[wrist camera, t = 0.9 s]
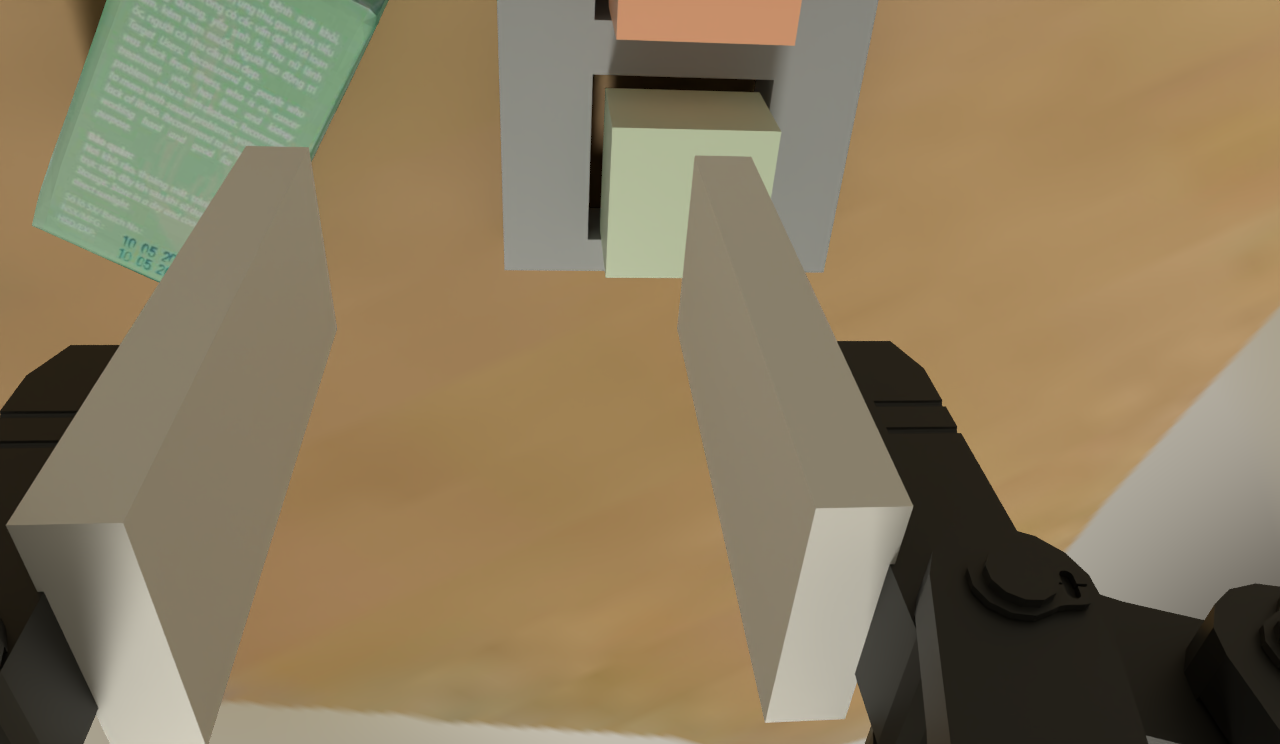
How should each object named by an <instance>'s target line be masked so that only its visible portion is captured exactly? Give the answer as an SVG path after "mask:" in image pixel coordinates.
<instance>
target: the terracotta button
mask: <svg viewBox="0 0 1280 744" xmlns="http://www.w3.org/2000/svg"><path fill="white" fill-rule="evenodd" d="M801 3H802V0H609V10H610V14H611V19H612V23H613V27H614V31H615V36H616V40H644V41H673V42H701V43H730V44H759V45H788V46H795V41H796V35H797V29H798V22H799V16H800V9H801Z"/></svg>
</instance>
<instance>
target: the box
mask: <svg viewBox="0 0 1280 744" xmlns="http://www.w3.org/2000/svg"><path fill="white" fill-rule="evenodd" d="M387 3H388V0H106V3H105V6H104V9H103V12H102V15H101V18H100V21H99V24H98V27H97V30H96V33H95V36H94V38H93V41H92V44H91V47H90V50H89V53H88V56H87V59H86V61H85V64H84V67H83V70H82V73H81V76H80V79H79V81H78V84H77V87H76V90H75V93H74V96H73V99H72V101H71V104H70V107H69V110H68V113H67V116H66V118H65V121H64V124H63V127H62V130H61V132H60V135H59V138H58V141H57V143H56V146H55V149H54V152H53V154H52V157H51V160H50V163H49V166H48V169H47V172H46V175H45V178H44V181H43V184H42V187H41V190H40V193H39V197H38V201H37V206H36V210H35V214H34V219H33V223H32V226H34V227H36V228H39V229H41V230H43V231H45V232H48V233H50V234H52V235H54V236H57V237H59V238H61V239H63V240H66V241H68V242H70V243H72V244H74V245H77V246H79V247H81V248H83V249H86V250H88V251H90V252H92V253H94V254H97V255H99V256H101V257H103V258H106V259H108V260H110V261H112V262H114V263H117V264H119V265H121V266H123V267H126V268H128V269H130V270H132V271H135V272H137V273H139V274H141V275H143V276H146V277H148V278H150V279H152V280H155V281H157V282H159V283H160V281H161V279H162V278H163V276H164V275H165V273H166V272H167V270H168V268H169V267H170V265H171V264H172V262H173V261H174V259H175V257H176V256H177V254H178V253H179V251H180V249H181V248H182V246H183V245H184V243H185V242H186V240H187V238H188V237H189V235H190V234H191V232H192V231H193V229H194V227H195V226H196V224H197V223H198V221H199V219H200V218H201V216H202V215H203V213H204V212H205V210H206V208H207V207H208V205H209V204H210V202H211V201H212V199H213V197H214V196H215V194H216V193H217V191H218V189H219V188H220V186H221V185H222V183H223V182H224V180H225V178H226V177H227V175H228V174H229V172H230V171H231V169H232V167H233V166H234V164H235V163H236V161H237V159H238V158H239V156H240V155H241V153H242V152H243V150H244V148H245V147H246V146H276V147H309V151H310V158H311V162H312V160H313V158H314V156H315V153H316V151H317V149H318V147H319V145H320V143H321V141H322V139H323V137H324V135H325V133H326V131H327V129H328V126H329V124H330V122H331V120H332V118H333V116H334V114H335V112H336V110H337V108H338V106H339V104H340V102H341V100H342V98H343V96H344V94H345V92H346V90H347V88H348V86H349V83H350V81H351V79H352V77H353V75H354V73H355V71H356V69H357V67H358V65H359V62H360V60H361V58H362V56H363V54H364V52H365V50H366V48H367V46H368V44H369V41H370V39H371V37H372V35H373V33H374V31H375V29H376V26H377V25H378V23H379V20H380V18H381V16H382V13H383V11H384V9H385V7H386V5H387Z"/></svg>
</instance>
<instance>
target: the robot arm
mask: <svg viewBox="0 0 1280 744" xmlns="http://www.w3.org/2000/svg"><path fill="white" fill-rule="evenodd" d="M336 330H337V325H336V319H335V312H334V306H333V299H332V293H331V286H330V280H329V274H328V267H327V261H326V254H325V248H324V241H323V235H322V229H321V222H320V216H319V209H318V203H317V196H316V190H315V184H314V177H313V171H312V164H311V158H310V151H309V147H276V146H246V147H245V148H244V150H243V152H242V153H241V155H240V156H239V158H238V159H237V161H236V163H235V164H234V166H233V167H232V169H231V171H230V172H229V174H228V175H227V177H226V178H225V180H224V182H223V183H222V185H221V186H220V188H219V189H218V191H217V193H216V194H215V196H214V197H213V199H212V201H211V202H210V204H209V205H208V207H207V208H206V210H205V212H204V213H203V215H202V216H201V218H200V219H199V221H198V223H197V224H196V226H195V227H194V229H193V231H192V232H191V234H190V235H189V237H188V238H187V240H186V242H185V243H184V245H183V246H182V248H181V249H180V251H179V253H178V254H177V256H176V257H175V259H174V261H173V262H172V264H171V265H170V267H169V268H168V270H167V272H166V273H165V275H164V276H163V278H162V279H161V281H160V283H159V284H158V286H157V287H156V289H155V291H154V292H153V294H152V295H151V297H150V298H149V300H148V302H147V303H146V305H145V306H144V308H143V309H142V311H141V313H140V314H139V316H138V317H137V319H136V321H135V322H134V324H133V325H132V327H131V328H130V330H129V332H128V333H127V335H126V336H125V338H124V339H123V341H122V343H121V344H120V345H70V346H69V347H67V348H66V349H64V350H63V351H61V352H60V353H59V354H57V355H56V356H54V357H53V358H51V359H50V360H48V361H47V362H45V363H44V364H43V365H41V366H40V367H38V368H37V369H35V370H34V371H32V372H31V373H29V374H28V375H27V376H26V377H25V378H24V379H23V381H22V382H21V383H20V385H19V386H18V388H17V389H16V390H15V392H14V393H13V394H12V396H11V397H10V398H9V400H8V401H7V402H6V404H5V405H4V406H3V408H2V409H1V410H0V744H83V743H84V741H85V739H86V736H87V734H88V732H89V729H90V727H91V725H92V722H93V720H94V718H95V715H96V716H97V718H98V720H99V722H100V724H101V726H102V728H103V731H104V733H105V735H106V737H107V739H108V741H109V743H110V744H208V743H209V740H210V737H211V734H212V730H213V727H214V724H215V721H216V718H217V714H218V711H219V707H220V705H221V701H222V698H223V695H224V692H225V688H226V685H227V682H228V679H229V676H230V672H231V669H232V666H233V663H234V659H235V656H236V653H237V650H238V647H239V643H240V640H241V637H242V634H243V630H244V627H245V624H246V621H247V617H248V614H249V611H250V608H251V605H252V601H253V598H254V595H255V592H256V588H257V585H258V582H259V579H260V576H261V572H262V569H263V566H264V563H265V559H266V556H267V553H268V550H269V546H270V543H271V540H272V537H273V534H274V530H275V527H276V524H277V521H278V517H279V514H280V511H281V508H282V505H283V501H284V498H285V495H286V492H287V488H288V485H289V482H290V479H291V475H292V472H293V469H294V466H295V463H296V459H297V456H298V453H299V450H300V446H301V443H302V440H303V437H304V434H305V430H306V427H307V424H308V421H309V417H310V414H311V411H312V408H313V404H314V401H315V398H316V395H317V392H318V388H319V385H320V382H321V379H322V375H323V372H324V369H325V366H326V363H327V359H328V356H329V353H330V350H331V346H332V343H333V340H334V337H335V333H336ZM677 330H678V334H679V339H680V343H681V348H682V352H683V357H684V361H685V366H686V370H687V375H688V379H689V384H690V388H691V393H692V397H693V402H694V406H695V411H696V415H697V420H698V424H699V429H700V433H701V437H702V442H703V446H704V451H705V455H706V460H707V464H708V469H709V473H710V478H711V482H712V487H713V491H714V496H715V500H716V505H717V509H718V514H719V518H720V523H721V527H722V532H723V536H724V541H725V545H726V550H727V554H728V559H729V563H730V568H731V572H732V577H733V581H734V586H735V590H736V595H737V599H738V604H739V608H740V613H741V617H742V621H743V626H744V630H745V635H746V639H747V644H748V648H749V653H750V657H751V662H752V666H753V671H754V675H755V680H756V684H757V689H758V693H759V698H760V702H761V707H762V711H763V716H764V720H765V723H768V722H789V721H811V720H832V719H845V717H846V714H847V711H848V708H849V705H850V702H851V699H852V695H853V692H854V689H855V686H856V683H858V686H859V689H860V692H861V695H862V698H863V701H864V704H865V707H866V710H867V713H868V716H869V720H870V723H871V728H870V731H869V733H868V736H867V739H866V742H865V744H1280V587H1278V586H1270V585H1262V584H1252V585H1247V586H1242V587H1238V588H1233V589H1230V590H1228V592H1226V593H1225V594H1224V595H1223V596H1222V597H1221V598H1220V599H1219V600H1218V601H1217V603H1216V604H1215V605H1214V606H1213V608H1212V610H1211V611H1210V612H1209V614H1208V616H1207V617H1206V619H1205V620H1200V619H1196V618H1192V617H1188V616H1183V615H1179V614H1174V613H1170V612H1165V611H1161V610H1157V609H1152V608H1148V607H1144V606H1139V605H1135V604H1130V603H1126V602H1122V601H1119V600H1116V599H1112V598H1109V597H1106V596H1103V595H1100V594H1099V592H1098V590H1097V589H1096V587H1095V586H1094V584H1093V582H1092V580H1091V578H1090V576H1089V575H1088V574H1087V573H1086V572H1085V571H1084V570H1083V569H1082V568H1081V567H1079V566H1078V565H1077V564H1076V563H1075V562H1074V561H1073V560H1072V559H1071V558H1070V557H1069V556H1067V554H1066V553H1064V552H1063V551H1061V550H1059V549H1057V548H1055V547H1054V546H1052V545H1050V544H1048V543H1046V542H1044V541H1043V540H1041V539H1039V538H1037V537H1035V536H1033V535H1029V534H1026V533H1022V532H1019V531H1017V530H1016V528H1015V527H1014V525H1013V523H1012V521H1011V520H1010V518H1009V516H1008V514H1007V513H1006V511H1005V509H1004V507H1003V506H1002V504H1001V502H1000V500H999V499H998V497H997V495H996V493H995V492H994V490H993V488H992V486H991V485H990V483H989V481H988V479H987V478H986V476H985V474H984V472H983V471H982V469H981V467H980V465H979V464H978V462H977V460H976V459H975V457H974V455H973V453H972V452H971V450H970V448H969V446H968V445H967V443H966V441H965V439H964V438H963V436H962V434H961V433H957V425H956V424H955V422H954V420H953V418H952V417H951V415H950V413H949V411H948V410H947V408H946V406H945V407H942V399H941V397H940V396H939V394H938V392H937V390H936V389H935V387H934V385H933V383H932V382H931V380H930V378H929V377H928V375H927V373H926V371H925V370H924V368H923V367H921V366H920V365H919V364H918V363H917V362H915V361H914V360H913V359H912V358H910V357H909V356H908V355H907V354H905V353H904V352H903V351H902V350H900V349H899V348H898V347H897V346H896V345H894V344H893V343H892V342H891V341H837V340H836V338H835V336H834V334H833V332H832V330H831V328H830V325H829V323H828V321H827V319H826V317H825V315H824V312H823V310H822V308H821V306H820V304H819V302H818V299H817V297H816V295H815V293H814V291H813V289H812V287H811V284H810V282H809V280H808V278H807V276H806V274H805V271H804V269H803V267H802V265H801V263H800V261H799V258H798V256H797V254H796V252H795V250H794V248H793V246H792V243H791V241H790V239H789V237H788V235H787V233H786V230H785V228H784V226H783V224H782V222H781V220H780V218H779V215H778V213H777V211H776V209H775V207H774V205H773V202H772V200H771V198H770V196H769V194H768V192H767V189H766V187H765V185H764V183H763V181H762V179H761V177H760V174H759V172H758V170H757V168H756V166H755V164H754V161H753V159H752V157H745V156H698V155H695V158H694V168H693V178H692V188H691V198H690V207H689V217H688V227H687V237H686V247H685V257H684V267H683V277H682V287H681V297H680V307H679V317H678V326H677Z"/></svg>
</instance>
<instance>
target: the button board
mask: <svg viewBox="0 0 1280 744" xmlns="http://www.w3.org/2000/svg"><path fill="white" fill-rule="evenodd" d="M877 5H878V0H802V3H801V9H800V16H799V22H798V29H797V35H796V41H795V46H788V45H759V44H730V43H701V42H673V41H644V40H616V36H615V31H614V27H613V23H612V19H611V14H610V10H609V0H497V14H498V50H499V86H500V121H501V157H502V192H503V228H504V264H505V270H568V271H605V268H604V260H603V251H602V243H601V235H600V212H601V208H589V178H590V146H591V114H592V81H593V74H594V75H627V76H660V77H692V78H725V79H756V81H755V88H754V92H760V94H761V96H762V98H763V100H764V101H765V103H766V105H767V107H768V108H769V110H770V112H771V114H772V116H773V117H774V119H775V121H776V123H777V125H778V126H779V128H780V130H781V137H780V144H779V150H778V157H777V163H776V170H775V176H774V182H773V189H772V195H771V200H772V202H773V205H774V207H775V209H776V211H777V213H778V215H779V218H780V220H781V222H782V224H783V226H784V228H785V230H786V233H787V235H788V237H789V239H790V241H791V243H792V246H793V248H794V250H795V252H796V254H797V256H798V258H799V261H800V263H801V265H802V267H803V269H804V271H805V272H824V267H825V262H826V257H827V252H828V247H829V242H830V237H831V232H832V227H833V222H834V217H835V212H836V207H837V202H838V198H839V193H840V188H841V183H842V178H843V173H844V168H845V163H846V158H847V153H848V148H849V143H850V138H851V133H852V128H853V123H854V118H855V114H856V109H857V104H858V99H859V94H860V89H861V84H862V79H863V74H864V69H865V64H866V59H867V54H868V49H869V44H870V39H871V34H872V29H873V25H874V20H875V15H876V10H877Z"/></svg>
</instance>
